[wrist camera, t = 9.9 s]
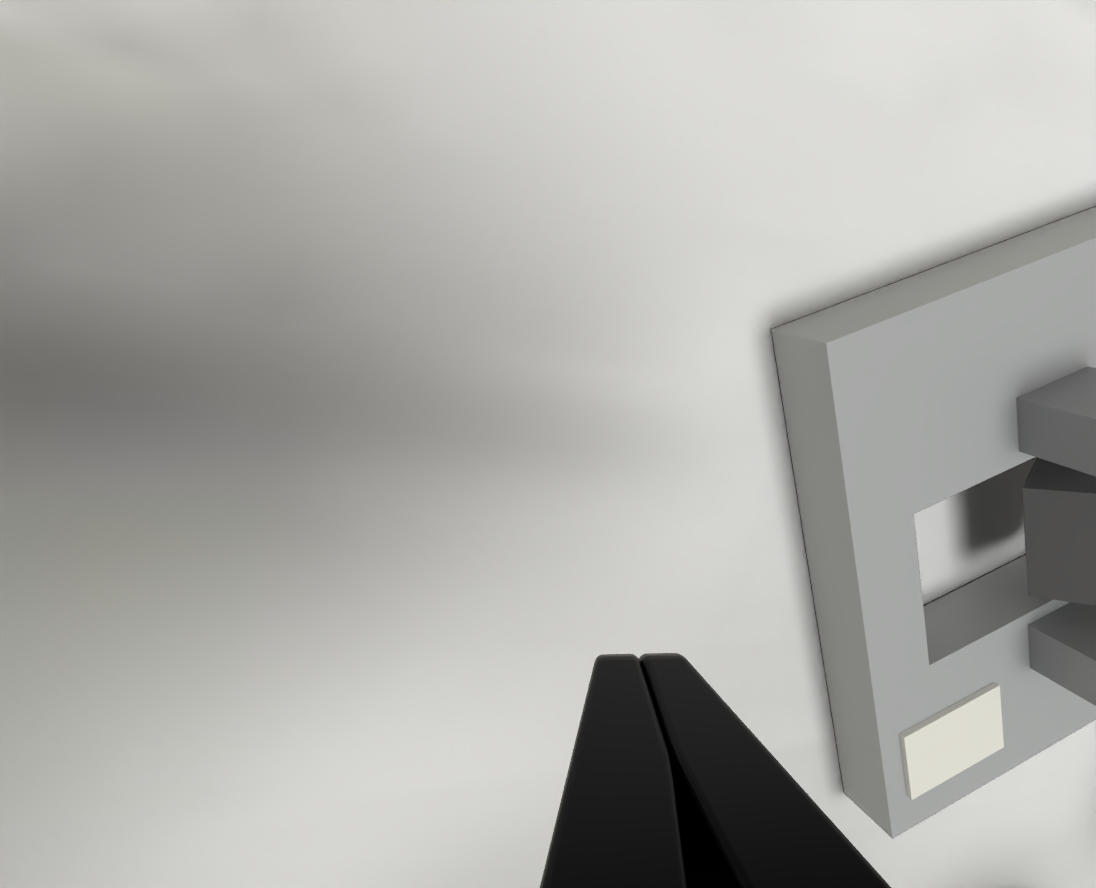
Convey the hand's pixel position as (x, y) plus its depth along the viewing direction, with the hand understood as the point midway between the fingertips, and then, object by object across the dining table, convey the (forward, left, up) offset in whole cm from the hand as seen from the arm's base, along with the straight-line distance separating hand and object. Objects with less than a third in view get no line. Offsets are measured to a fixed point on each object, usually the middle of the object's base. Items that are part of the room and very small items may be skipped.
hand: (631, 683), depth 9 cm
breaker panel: (+3, -19, -12) cm, 23 cm away
